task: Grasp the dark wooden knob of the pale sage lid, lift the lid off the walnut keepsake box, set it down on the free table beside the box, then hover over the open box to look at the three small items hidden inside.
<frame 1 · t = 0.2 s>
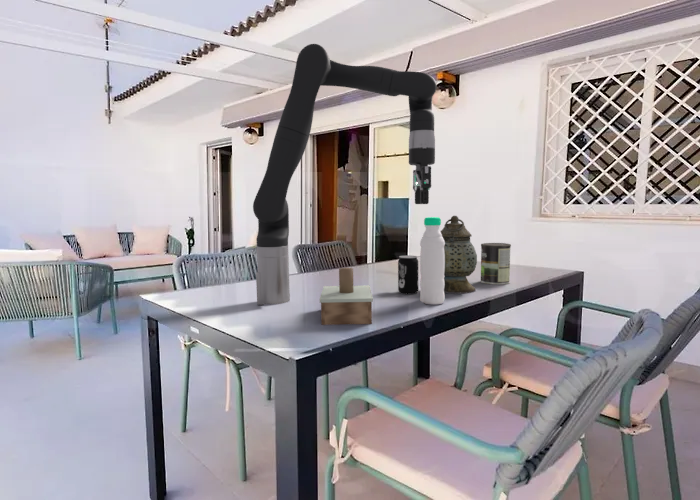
hand: (421, 204, 125), 29 cm above the table, fingers open, 8 cm apart
lantern: (454, 290, 143), on the table
maple cube: (343, 311, 114), point 1 cm above the table, touching box
lid: (346, 294, 109), point 6 cm above the table, touching box
beverage can: (408, 293, 140), on the table
box: (346, 317, 109), on the table
coffee can: (495, 282, 156), on the table
water bottle: (432, 303, 125), on the table
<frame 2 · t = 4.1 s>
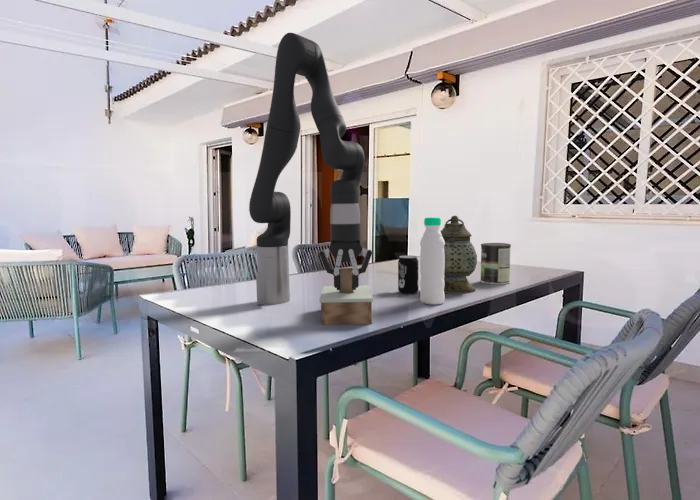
hand: (346, 289, 109), 7 cm above the table, fingers closed on lid, 3 cm apart
lid: (346, 294, 109), point 6 cm above the table, touching box, gripper
everything else where it was.
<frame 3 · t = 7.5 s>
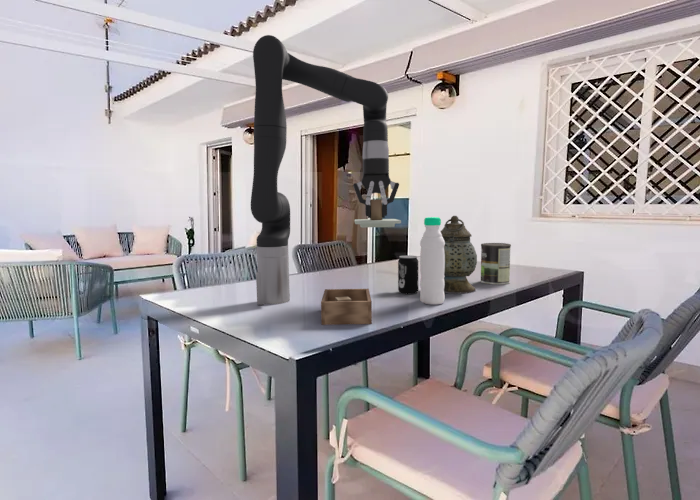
hand: (376, 217, 125), 25 cm above the table, fingers closed on lid, 3 cm apart
lid: (376, 222, 125), point 24 cm above the table, touching gripper
everything else where it was.
when the fingers open (4 cm above the table, at t = 11.3 s): lid drops 2 cm, point 1 cm above the table.
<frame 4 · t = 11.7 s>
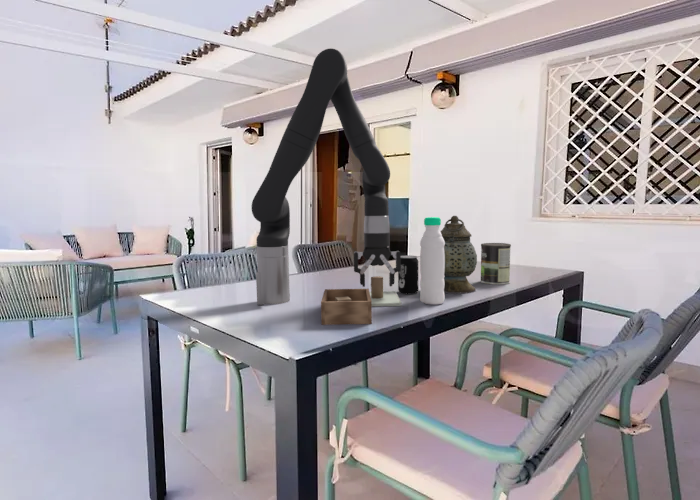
hand: (377, 286, 127), 5 cm above the table, fingers open, 7 cm apart
lid: (377, 299, 127), point 1 cm above the table
everything else where it was.
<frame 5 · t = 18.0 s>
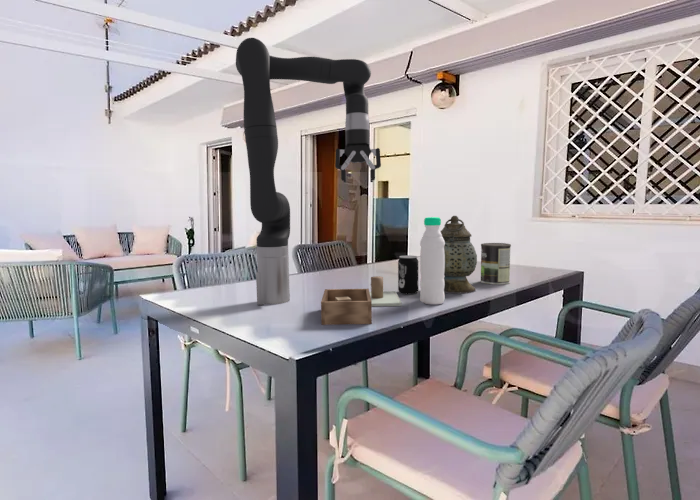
hand: (358, 182, 135), 36 cm above the table, fingers open, 8 cm apart
nothing on the table moved.
at the end: lid inside the target area (0.1 cm from its centre), point 0.6 cm above the table; lid touching table; the gripper is holding nothing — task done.
